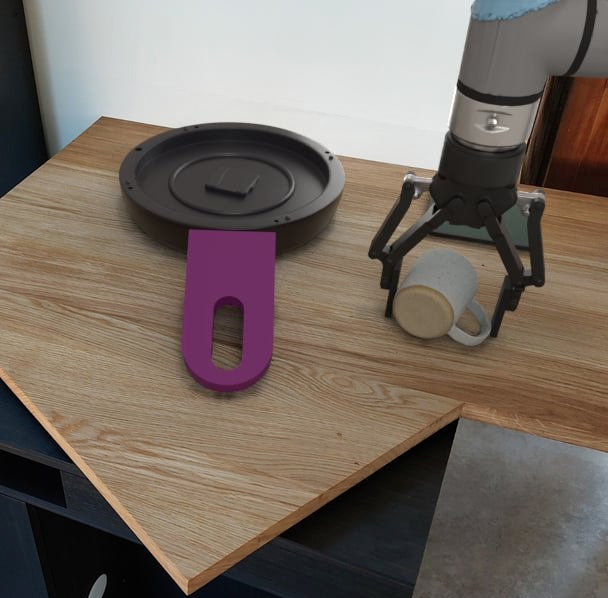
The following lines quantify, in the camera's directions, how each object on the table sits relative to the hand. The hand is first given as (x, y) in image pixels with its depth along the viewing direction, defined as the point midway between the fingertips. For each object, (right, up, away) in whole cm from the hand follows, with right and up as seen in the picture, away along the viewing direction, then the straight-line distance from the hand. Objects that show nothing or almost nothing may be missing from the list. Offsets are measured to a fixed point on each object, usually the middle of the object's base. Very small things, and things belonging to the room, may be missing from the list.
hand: (440, 320), depth 88 cm
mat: (+10, +16, +18) cm, 26 cm away
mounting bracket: (-24, -3, -2) cm, 24 cm away
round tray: (-23, +17, +19) cm, 35 cm away
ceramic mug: (0, -1, 0) cm, 1 cm away
